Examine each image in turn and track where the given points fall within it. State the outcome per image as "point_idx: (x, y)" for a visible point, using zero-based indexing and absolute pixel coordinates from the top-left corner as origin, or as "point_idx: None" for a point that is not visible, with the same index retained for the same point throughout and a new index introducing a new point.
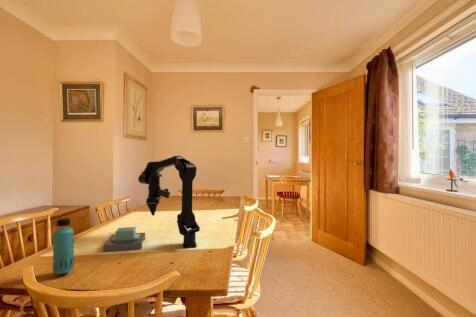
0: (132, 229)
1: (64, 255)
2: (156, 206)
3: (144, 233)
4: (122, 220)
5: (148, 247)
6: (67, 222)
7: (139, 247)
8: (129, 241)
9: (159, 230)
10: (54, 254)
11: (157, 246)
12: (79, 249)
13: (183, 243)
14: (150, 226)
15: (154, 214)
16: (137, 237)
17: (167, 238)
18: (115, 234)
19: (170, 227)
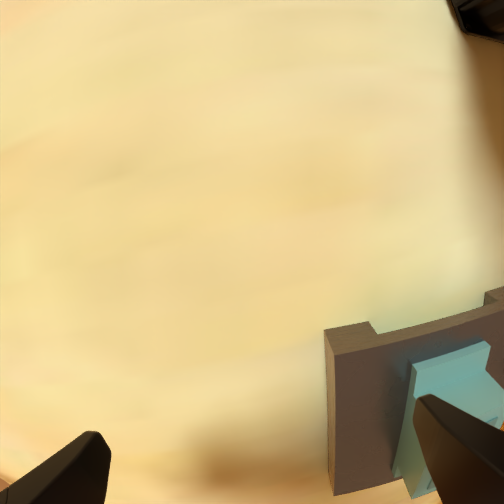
0: (487, 419)
1: None
2: (47, 491)
3: (360, 353)
4: (5, 463)
5: (500, 250)
6: None
7: None
8: (495, 371)
9: (100, 265)
10: None
11: (497, 196)
12: (408, 497)
13: (478, 29)
14: (27, 349)
15: (440, 398)
16: (481, 354)
17: (348, 139)
18: (336, 487)
19: (22, 189)
